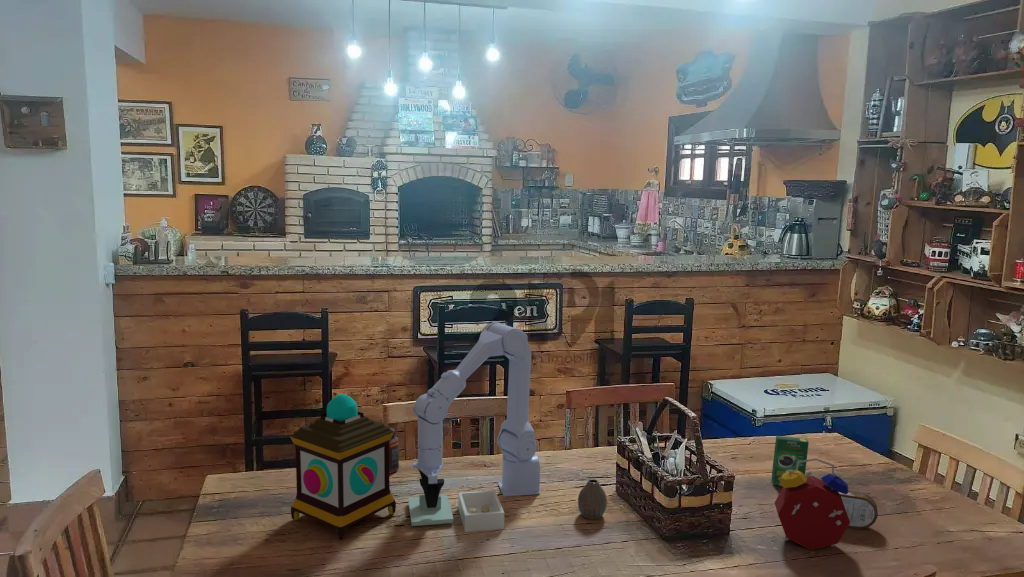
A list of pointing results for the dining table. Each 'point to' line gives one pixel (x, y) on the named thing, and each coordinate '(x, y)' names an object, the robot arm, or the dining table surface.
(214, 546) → the dining table surface
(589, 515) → the vase
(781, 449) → the coffee box
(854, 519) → the tin
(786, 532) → the alarm clock
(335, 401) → the decorative lantern
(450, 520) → the lid
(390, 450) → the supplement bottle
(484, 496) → the tub
